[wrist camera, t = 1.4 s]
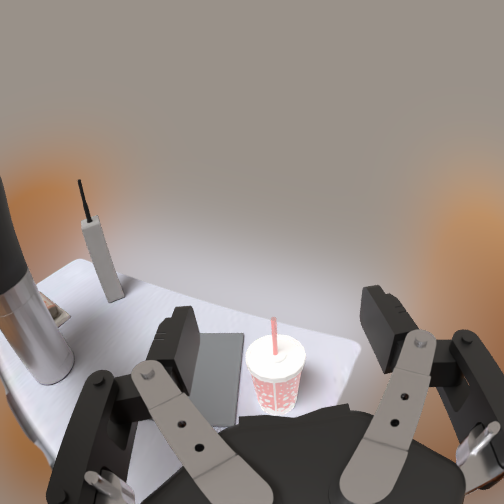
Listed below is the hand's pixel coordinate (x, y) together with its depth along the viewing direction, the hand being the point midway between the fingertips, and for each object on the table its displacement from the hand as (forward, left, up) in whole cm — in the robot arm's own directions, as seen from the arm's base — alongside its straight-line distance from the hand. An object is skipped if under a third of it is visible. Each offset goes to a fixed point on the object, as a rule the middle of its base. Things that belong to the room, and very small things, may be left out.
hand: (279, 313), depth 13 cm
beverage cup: (0, +9, -23) cm, 25 cm away
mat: (-11, +13, -23) cm, 29 cm away
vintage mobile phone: (-33, +32, -23) cm, 52 cm away
